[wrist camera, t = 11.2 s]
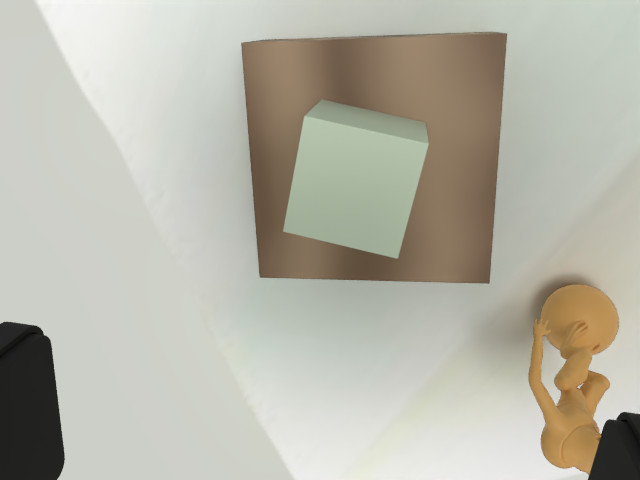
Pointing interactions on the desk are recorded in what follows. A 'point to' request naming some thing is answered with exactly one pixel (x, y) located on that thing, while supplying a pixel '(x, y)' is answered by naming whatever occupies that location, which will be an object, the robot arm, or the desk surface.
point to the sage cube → (356, 177)
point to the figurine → (573, 372)
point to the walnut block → (394, 99)
